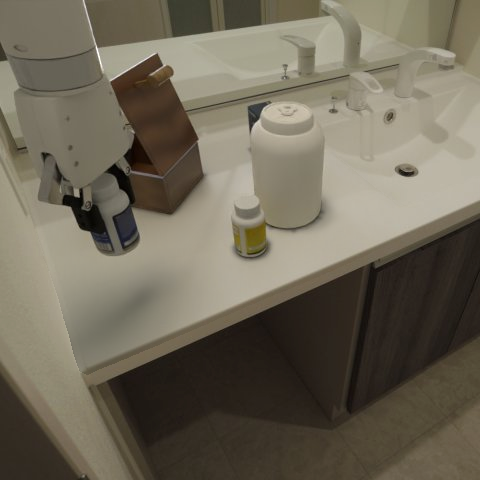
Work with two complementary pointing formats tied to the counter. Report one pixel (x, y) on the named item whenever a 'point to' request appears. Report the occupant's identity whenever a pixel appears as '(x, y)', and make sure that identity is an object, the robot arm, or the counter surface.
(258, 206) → the supplement bottle
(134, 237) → the pill bottle
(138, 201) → the chest
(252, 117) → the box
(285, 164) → the white canister
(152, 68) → the lid
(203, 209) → the counter surface
